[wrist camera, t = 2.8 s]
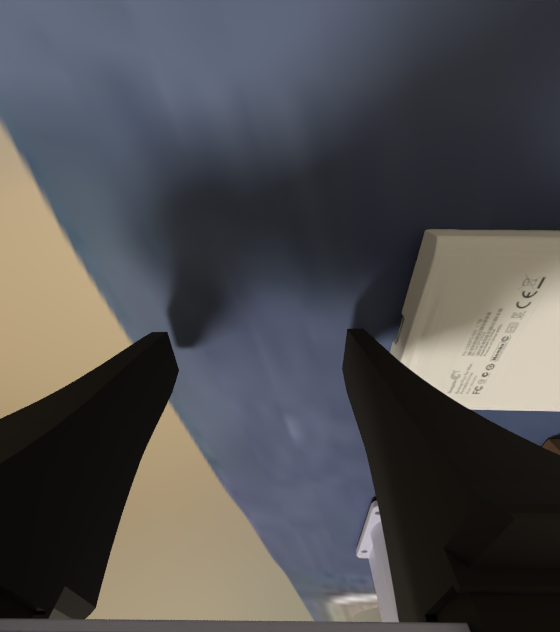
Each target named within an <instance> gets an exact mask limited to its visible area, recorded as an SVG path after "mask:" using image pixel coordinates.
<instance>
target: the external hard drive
mask: <svg viewBox="0 0 560 632" xmlns="http://www.w3.org/2000/svg"><path fill="white" fill-rule="evenodd" d="M402 315H403V318H402V321H401V325H400V329H399V332H398V336H397V338H396V339H395V340H394V341H393V344H392V347H391V351H390V353H391V354H392V355H393V356H394V357H395V358H397V359H398V360H399V361H400V362H401V363H403V364H404V365H405V366H406V367H408V368H409V369H410V370H411V371H413V372H414V373H415V374H417V375H418V376H419V377H421V378H422V379H423V380H425V381H426V382H428V383H429V384H430V385H432V386H433V387H435V388H436V389H438V390H439V391H441V392H442V393H444V394H445V395H447V396H448V397H450V398H452V399H453V400H455V401H456V402H458V403H460V404H461V405H463V406H465V407H466V408H468V409H475V410H521V411H560V231H554V230H457V229H427V230H425V232H424V236H423V240H422V243H421V247H420V250H419V254H418V257H417V261H416V264H415V268H414V271H413V275H412V278H411V282H410V285H409V289H408V292H407V295H406V299H405V302H404V306H403V310H402Z"/></svg>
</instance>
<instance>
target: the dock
mask: <svg viewBox="0 0 560 632" xmlns="http://www.w3.org/2000/svg"><path fill="white" fill-rule="evenodd" d="M542 447H543V448H545V449H547V450H550V451H552V452H554V453H556V454H559V455H560V439H548V440H547V441H546V442H545V443H544V445H543V446H542Z"/></svg>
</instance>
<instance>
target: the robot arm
mask: <svg viewBox="0 0 560 632" xmlns="http://www.w3.org/2000/svg"><path fill="white" fill-rule="evenodd" d="M342 369H343V374H344V380H345V385H346V390H347V394H348V397H349V400H350V403H351V406H352V409H353V412H354V415H355V418H356V421H357V424H358V428H359V431H360V434H361V437H362V440H363V443H364V446H365V450H366V453H367V457H368V462H369V466H370V471H371V475H372V480H373V484H374V489H375V494H376V499H377V500H376V501H374V502H372V504H371V506H370V509H369V512H368V515H367V518H366V522H365V525H364V528H363V531H362V534H361V537H360V540H359V543H358V546H357V549H356V553H357V557H359V558H369V562H370V567H371V571H372V576H373V581H374V585H375V590H376V595H377V599H378V604H379V608H380V613H381V618H382V622H314V621H311V622H310V621H208V620H206V621H205V620H105V619H86V618H87V617H88V616H89V615H90V614H91V613H92V612H93V610H94V609H95V608H96V604H97V600H98V597H99V593H100V589H101V584H102V581H103V578H104V574H105V570H106V567H107V563H108V559H109V555H110V552H111V548H112V545H113V542H114V539H115V535H116V532H117V529H118V525H119V522H120V519H121V515H122V512H123V509H124V506H125V503H126V500H127V497H128V495H129V491H130V488H131V486H132V483H133V480H134V477H135V474H136V472H137V469H138V466H139V463H140V460H141V458H142V455H143V453H144V451H145V449H146V446H147V444H148V442H149V440H150V438H151V436H152V434H153V432H154V429H155V427H156V425H157V423H158V421H159V419H160V417H161V415H162V413H163V411H164V409H165V406H166V404H167V402H168V400H169V398H170V396H171V394H172V391H173V388H174V385H175V382H176V379H177V375H178V372H179V369H178V366H177V362H176V359H175V356H174V352H173V349H172V346H171V342H170V339H169V336H168V333H167V332H152V333H150V334H148V335H147V336H145V337H143V338H142V339H140V340H138V341H137V342H135V343H134V344H132V345H131V346H129V347H128V348H126V349H125V350H123V351H122V352H120V353H119V354H117V355H116V356H114V357H113V358H111V359H110V360H108V361H106V362H105V363H103V364H102V365H101V366H99V367H97V368H95V369H94V370H92V371H90V372H89V373H87V374H86V375H84V376H82V377H81V378H79V379H77V380H76V381H74V382H72V383H71V384H69V385H67V386H65V387H63V388H62V389H60V390H58V391H56V392H54V393H53V394H50V395H49V396H47V397H45V398H43V399H41V400H39V401H37V402H35V403H33V404H31V405H29V406H27V407H25V408H22V409H20V410H19V411H16V412H14V413H12V414H10V415H7V416H5V417H3V418H1V419H0V632H560V455H559V454H556V453H554V452H552V451H550V450H547V449H545V448H543V447H541V446H539V445H537V444H535V443H532V442H530V441H528V440H526V439H524V438H522V437H520V436H518V435H516V434H514V433H512V432H510V431H508V430H506V429H504V428H502V427H501V426H499V425H497V424H495V423H493V422H491V421H489V420H487V419H486V418H484V417H482V416H480V415H479V414H477V413H475V412H473V411H472V410H470V409H468V408H466V407H465V406H463V405H461V404H460V403H458V402H456V401H455V400H453V399H452V398H450V397H448V396H447V395H445V394H444V393H442V392H441V391H439V390H438V389H436V388H435V387H433V386H432V385H430V384H429V383H428V382H426V381H425V380H423V379H422V378H421V377H419V376H418V375H417V374H415V373H414V372H413V371H411V370H410V369H409V368H408V367H406V366H405V365H404V364H403V363H401V362H400V361H399V360H398V359H397V358H395V357H394V356H393V355H392V354H391V353H390V352H388V351H387V350H386V349H385V348H384V347H383V346H382V345H381V344H379V343H378V342H377V341H376V340H375V339H374V338H373V337H372V336H371V335H370V334H368V333H367V332H366V331H365V330H364V329H347V336H346V344H345V352H344V360H343V367H342Z"/></svg>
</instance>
